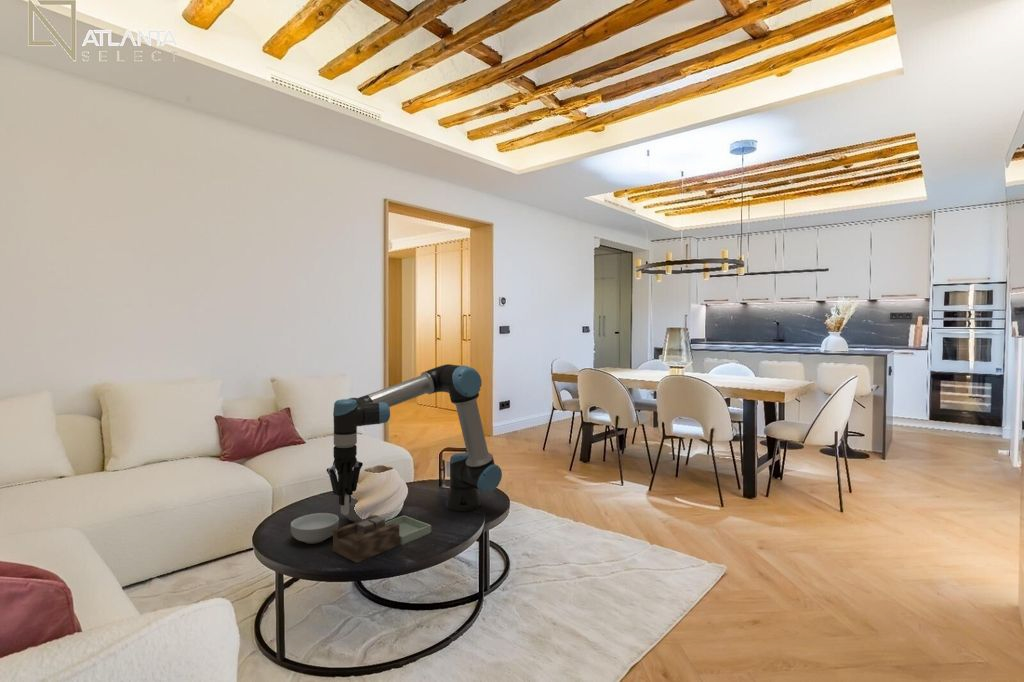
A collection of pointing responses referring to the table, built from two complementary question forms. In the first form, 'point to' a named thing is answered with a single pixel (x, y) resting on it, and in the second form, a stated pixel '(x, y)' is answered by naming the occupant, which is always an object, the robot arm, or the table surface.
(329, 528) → the cereal bowl
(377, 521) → the grey cube
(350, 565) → the table surface
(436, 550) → the table surface
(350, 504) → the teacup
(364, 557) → the slot block
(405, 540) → the tray
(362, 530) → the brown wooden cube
